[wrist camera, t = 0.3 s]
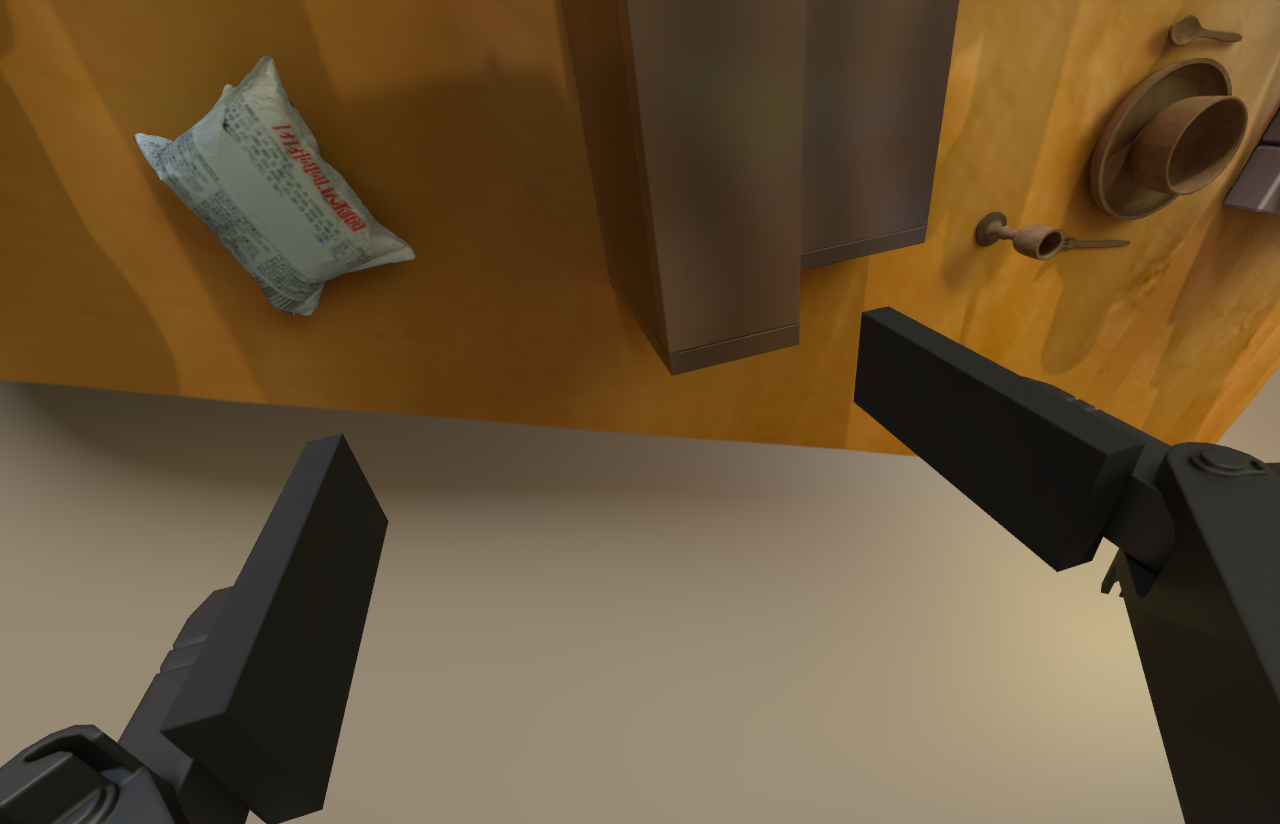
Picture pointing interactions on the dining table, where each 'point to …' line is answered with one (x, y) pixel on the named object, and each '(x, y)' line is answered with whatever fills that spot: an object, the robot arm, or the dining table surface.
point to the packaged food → (271, 193)
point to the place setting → (1151, 146)
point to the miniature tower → (1260, 177)
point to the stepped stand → (753, 153)
